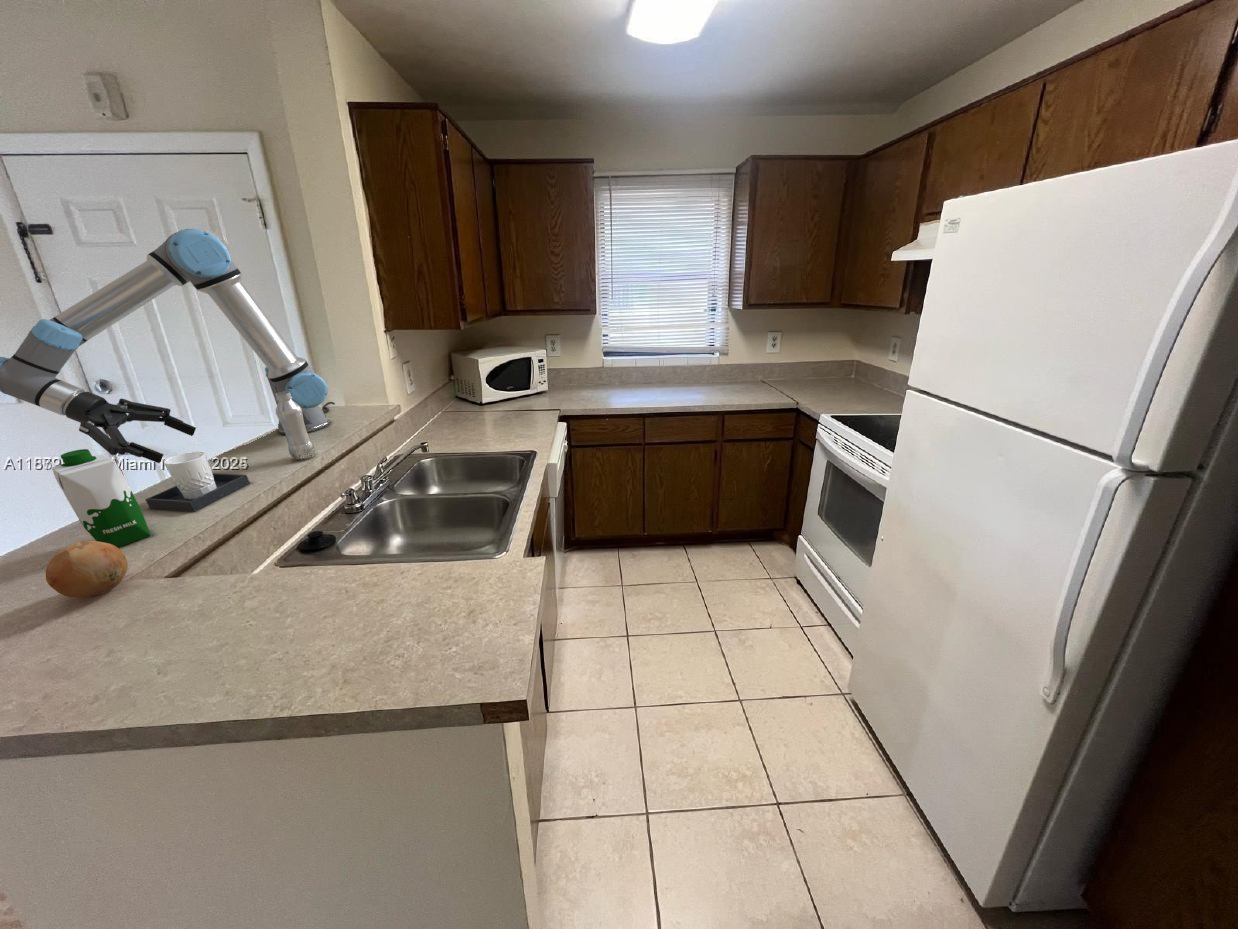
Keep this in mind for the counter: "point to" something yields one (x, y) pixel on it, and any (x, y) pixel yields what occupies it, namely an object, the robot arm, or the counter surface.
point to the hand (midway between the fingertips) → (178, 444)
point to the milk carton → (101, 498)
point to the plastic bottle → (294, 426)
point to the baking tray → (176, 501)
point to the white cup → (191, 474)
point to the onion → (86, 569)
